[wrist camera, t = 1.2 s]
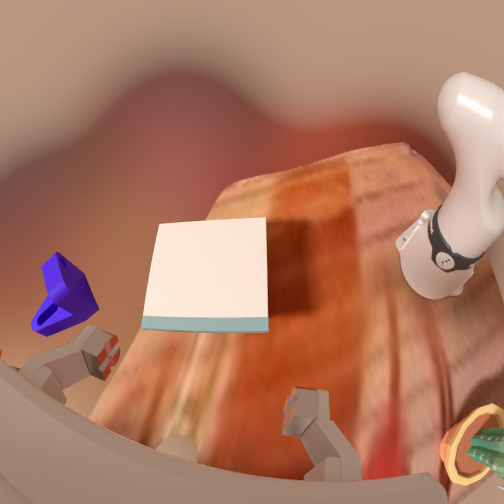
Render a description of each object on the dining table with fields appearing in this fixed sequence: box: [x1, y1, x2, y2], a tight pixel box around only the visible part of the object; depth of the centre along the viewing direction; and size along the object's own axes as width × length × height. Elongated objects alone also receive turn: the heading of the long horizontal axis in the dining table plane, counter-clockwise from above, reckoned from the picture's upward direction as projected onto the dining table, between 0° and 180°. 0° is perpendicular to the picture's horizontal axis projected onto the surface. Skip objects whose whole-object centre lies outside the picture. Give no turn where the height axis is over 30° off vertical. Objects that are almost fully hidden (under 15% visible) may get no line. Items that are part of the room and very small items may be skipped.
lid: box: [141, 217, 269, 333], centre depth 42 cm, size 19×19×1 cm
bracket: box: [31, 252, 99, 337], centre depth 45 cm, size 18×11×12 cm, turn 130°
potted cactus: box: [439, 403, 504, 490], centre depth 18 cm, size 15×15×25 cm
